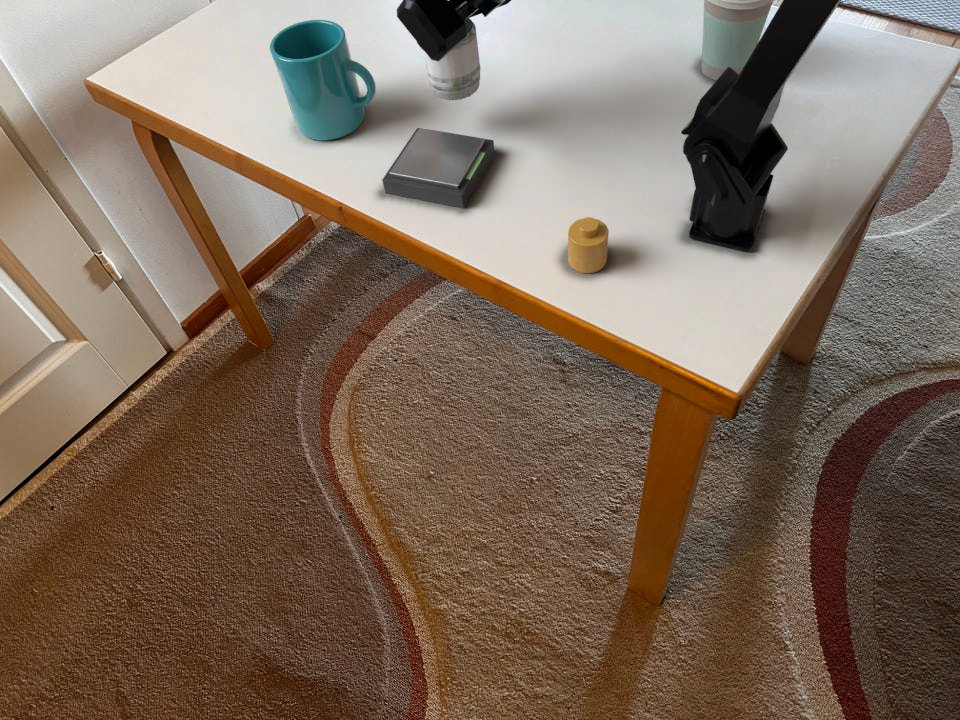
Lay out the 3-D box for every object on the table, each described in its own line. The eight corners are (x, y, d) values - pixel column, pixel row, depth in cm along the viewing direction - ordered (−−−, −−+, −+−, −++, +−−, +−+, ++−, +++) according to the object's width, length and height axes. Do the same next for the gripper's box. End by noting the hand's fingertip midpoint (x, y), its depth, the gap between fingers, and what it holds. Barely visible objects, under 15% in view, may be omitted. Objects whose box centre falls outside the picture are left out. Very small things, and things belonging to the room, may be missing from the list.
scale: (495, 153, 86) (493, 135, 84) (463, 208, 81) (461, 190, 79) (420, 141, 89) (416, 123, 87) (385, 193, 84) (380, 175, 82)
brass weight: (612, 251, 75) (614, 215, 71) (599, 277, 73) (601, 242, 69) (575, 242, 76) (576, 206, 72) (562, 268, 74) (562, 232, 70)
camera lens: (491, 90, 84) (484, 25, 78) (443, 108, 83) (432, 44, 77) (468, 65, 88) (459, 2, 81) (421, 83, 86) (409, 20, 80)
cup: (370, 149, 89) (349, 66, 80) (285, 138, 92) (255, 57, 83) (397, 106, 94) (379, 23, 85) (315, 97, 97) (290, 16, 88)
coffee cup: (737, 44, 95) (756, -51, 85) (772, 77, 90) (797, -20, 80) (678, 60, 94) (691, -34, 84) (710, 95, 89) (728, -1, 79)
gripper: (514, -171, 69) (441, -68, 82) (391, -91, 61) (332, 9, 74) (584, -70, 72) (503, 14, 85) (475, 20, 64) (405, 97, 77)
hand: (438, 31), depth 81 cm, fingers closed on camera lens, 6 cm apart
